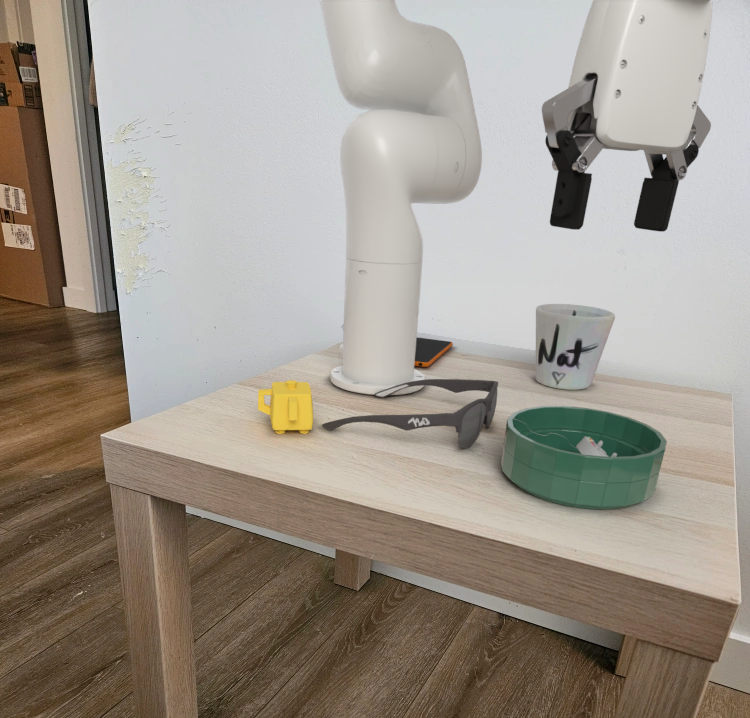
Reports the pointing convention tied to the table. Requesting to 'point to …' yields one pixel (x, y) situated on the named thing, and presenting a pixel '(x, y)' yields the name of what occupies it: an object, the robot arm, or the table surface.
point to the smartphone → (429, 350)
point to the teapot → (288, 406)
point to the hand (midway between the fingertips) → (608, 228)
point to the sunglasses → (463, 419)
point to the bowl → (582, 456)
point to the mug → (570, 344)
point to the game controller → (589, 447)
